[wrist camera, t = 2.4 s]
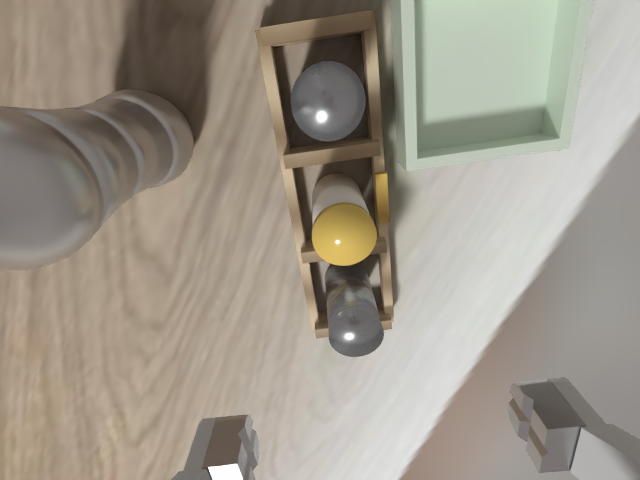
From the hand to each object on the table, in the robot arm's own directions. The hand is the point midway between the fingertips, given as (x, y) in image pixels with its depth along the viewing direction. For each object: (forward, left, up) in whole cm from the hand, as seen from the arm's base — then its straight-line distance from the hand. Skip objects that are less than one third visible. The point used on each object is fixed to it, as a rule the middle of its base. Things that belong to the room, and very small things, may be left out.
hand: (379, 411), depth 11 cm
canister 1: (-8, 0, -21) cm, 22 cm away
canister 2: (+8, 0, -21) cm, 22 cm away
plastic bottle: (-7, -13, -21) cm, 26 cm away
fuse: (0, 0, -21) cm, 21 cm away
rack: (0, 0, -21) cm, 21 cm away
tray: (-8, +11, -21) cm, 25 cm away
